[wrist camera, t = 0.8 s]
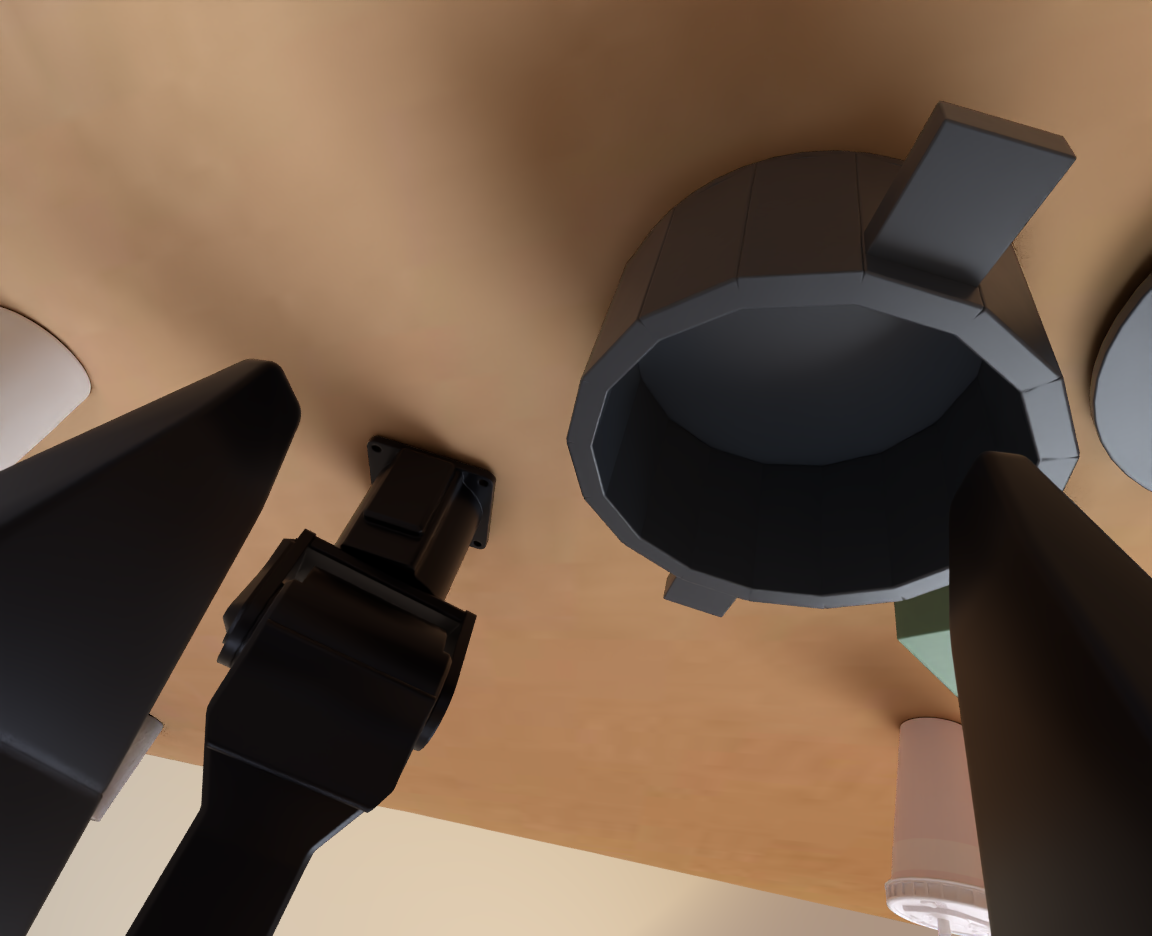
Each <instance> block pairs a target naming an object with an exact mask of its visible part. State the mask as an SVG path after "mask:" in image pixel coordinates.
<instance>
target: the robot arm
mask: <svg viewBox="0 0 1152 936" xmlns="http://www.w3.org/2000/svg"><path fill="white" fill-rule="evenodd" d="M300 418H301V408H300V404H299V402H298V400H297V398H296V396H295V394H294V392H293V390H292V388H291V386H290V384H289V382H288V379H287V377H286V375H285V373H284V371H283V370H282V368H281V367H280V366H279V365H278V364H277V363H275V362H272V361H266V360H258V359H246V360H243V361H241V362H238V363H236V364H234V365H232V366H230V367H227V368H225V369H223V370H221V371H219V372H216V373H214V374H212V375H210V376H208V377H206V378H203V379H201V380H199V381H197V382H195V383H192V384H190V385H188V386H186V387H184V388H181V389H179V390H177V391H175V392H173V393H170V394H168V395H166V396H164V397H162V398H159V399H157V400H155V401H153V402H151V403H148V404H146V405H144V406H142V407H140V408H137V409H135V410H133V411H131V412H129V413H126V414H124V415H122V416H120V417H118V418H116V419H113V420H111V421H109V422H107V423H105V424H102V425H100V426H98V427H96V428H94V429H91V430H89V431H87V432H85V433H83V434H80V435H78V436H76V437H74V438H72V439H69V440H67V441H65V442H63V443H61V444H58V445H56V446H54V447H52V448H50V449H47V450H45V451H43V452H41V453H39V454H37V455H34V456H32V457H30V458H28V459H26V460H23V461H21V462H19V463H17V464H15V465H12V466H10V467H8V468H6V469H4V470H1V471H0V936H26V934H27V933H28V931H29V929H30V927H31V925H32V923H33V922H34V920H35V918H36V916H37V915H38V913H39V911H40V909H41V907H42V906H43V904H44V902H45V900H46V898H47V897H48V895H49V893H50V891H51V889H52V888H53V886H54V884H55V882H56V880H57V879H58V877H59V875H60V873H61V871H62V870H63V868H64V866H65V864H66V863H67V861H68V859H69V857H70V855H71V854H72V852H73V850H74V848H75V846H76V844H77V843H78V841H79V839H80V837H81V836H82V834H83V832H84V830H85V828H86V827H87V825H88V823H89V821H90V819H91V818H92V816H93V814H94V812H95V810H96V809H97V807H98V805H99V803H100V801H101V800H102V798H103V794H102V793H104V792H105V791H106V790H107V788H108V786H109V784H110V782H111V781H112V779H113V777H114V775H115V773H116V772H117V770H118V768H119V766H120V765H121V763H122V761H123V759H124V757H125V756H126V754H127V752H128V750H129V748H130V747H131V745H132V743H133V741H134V739H135V738H136V736H137V734H138V732H139V730H140V729H141V727H142V725H143V723H144V721H145V720H146V718H147V716H148V714H149V712H150V711H151V709H152V707H153V705H154V703H155V702H156V700H157V698H158V696H159V695H160V693H161V691H162V689H163V687H164V686H165V684H166V682H167V680H168V678H169V677H170V675H171V673H172V671H173V669H174V668H175V666H176V664H177V662H178V660H179V659H180V657H181V655H182V653H183V651H184V650H185V648H186V646H187V644H188V642H189V641H190V639H191V637H192V635H193V634H194V632H195V630H196V628H197V626H198V625H199V623H200V621H201V619H202V617H203V616H204V614H205V612H206V610H207V608H208V607H209V605H210V603H211V601H212V599H213V598H214V596H215V594H216V592H217V590H218V589H219V587H220V585H221V583H222V581H223V580H224V578H225V576H226V574H227V572H228V571H229V569H230V567H231V565H232V564H233V562H234V560H235V558H236V556H237V555H238V553H239V551H240V549H241V547H242V546H243V544H244V542H245V540H246V538H247V537H248V535H249V533H250V531H251V529H252V528H253V526H254V524H255V522H256V520H257V518H258V516H259V515H260V513H261V511H262V509H263V507H264V504H265V502H266V500H267V498H268V496H269V493H270V491H271V489H272V486H273V484H274V482H275V479H276V477H277V475H278V472H279V470H280V467H281V465H282V463H283V460H284V458H285V456H286V453H287V451H288V449H289V446H290V444H291V442H292V439H293V437H294V435H295V432H296V430H297V427H298V425H299V422H300ZM367 449H368V458H369V466H370V475H371V483H372V486H371V487H370V489H369V491H368V492H367V494H366V495H365V497H364V499H363V500H362V502H361V503H360V505H359V507H358V508H357V510H356V511H355V513H354V515H353V516H352V518H351V519H350V521H349V523H348V524H347V526H346V527H345V529H344V531H343V532H342V534H341V535H340V537H339V539H338V540H337V542H336V543H335V545H332V544H330V543H328V542H327V541H325V540H323V539H321V538H319V537H317V536H316V534H315V533H313V532H311V531H309V530H307V529H304V531H303V532H302V533H301V535H300V536H299V537H298V539H297V538H296V539H283V540H282V542H281V543H280V545H279V546H278V548H277V549H276V550H275V552H274V553H273V555H272V556H271V558H270V559H269V560H268V562H267V563H266V565H265V566H264V567H263V568H262V570H261V571H260V572H259V573H258V574H257V576H256V577H255V578H254V579H253V580H252V581H251V582H250V583H249V585H248V586H247V587H246V588H245V589H244V590H243V591H242V592H241V593H240V595H239V596H238V597H237V598H236V599H235V600H234V601H233V602H232V604H231V605H230V606H229V607H228V609H227V610H226V612H225V614H224V615H223V620H224V624H225V628H226V632H227V633H226V635H225V637H224V640H223V643H224V646H223V648H222V650H221V652H220V654H219V656H218V659H217V662H218V663H220V664H222V665H225V666H227V667H229V668H231V669H230V670H229V672H228V674H227V675H226V677H225V678H224V680H223V682H222V683H221V685H220V686H219V688H218V690H217V691H216V693H215V694H214V696H213V697H212V699H211V701H210V703H209V705H208V707H207V712H206V725H205V744H204V764H203V783H202V784H203V785H202V803H201V808H200V811H199V812H198V814H197V816H196V817H195V819H194V821H193V822H192V824H191V826H190V827H189V829H188V831H187V833H186V834H185V836H184V838H183V839H182V841H181V843H180V844H179V846H178V848H177V849H176V851H175V853H174V855H173V856H172V858H171V860H170V861H169V863H168V865H167V866H166V868H165V870H164V871H163V873H162V875H161V876H160V878H159V880H158V881H157V883H156V885H155V887H154V888H153V890H152V892H151V893H150V895H149V897H148V898H147V900H146V902H145V903H144V905H143V907H142V908H141V910H140V912H139V913H138V915H137V917H136V918H135V920H134V922H133V924H132V925H131V927H130V929H129V930H128V932H127V934H126V936H273V934H274V932H275V929H276V927H277V925H278V923H279V921H280V919H281V917H282V915H283V913H284V911H285V909H286V907H287V905H288V903H289V901H290V899H291V896H292V895H293V892H294V891H295V889H296V886H297V884H298V882H299V880H300V878H301V876H302V874H303V872H304V870H305V868H306V866H307V864H308V862H309V860H310V858H311V857H312V855H313V853H314V852H315V851H316V850H317V849H318V848H319V847H320V846H322V845H323V844H324V843H325V842H327V841H328V840H329V839H330V838H332V837H333V836H334V835H335V834H337V833H338V832H339V831H340V830H342V829H343V828H344V827H346V826H347V825H348V824H349V823H351V822H352V821H353V820H354V819H355V818H357V817H358V816H359V815H361V814H362V813H363V812H367V813H368V812H370V811H371V810H373V809H374V808H375V807H376V806H377V805H379V804H380V803H381V802H382V801H383V800H384V799H385V798H386V797H387V796H388V795H389V794H390V793H392V791H393V790H394V788H395V786H396V784H397V782H398V779H399V777H400V775H401V773H402V771H403V769H404V767H405V765H406V763H407V761H408V759H409V757H410V755H411V752H412V750H413V749H414V750H417V751H420V750H421V749H422V748H424V747H425V745H426V744H427V743H428V742H429V740H430V739H431V737H432V736H433V734H434V733H435V731H436V729H437V728H438V726H439V724H440V722H441V720H442V719H443V717H444V715H445V713H446V710H447V708H448V706H449V704H450V701H451V699H452V696H453V694H454V691H455V688H456V685H457V682H458V678H459V675H460V671H461V668H462V665H463V661H464V658H465V654H466V651H467V647H468V644H469V641H470V637H471V634H472V630H473V627H474V623H475V620H476V616H477V615H475V614H473V613H471V612H469V611H467V610H466V611H463V610H461V609H459V608H457V607H455V606H453V605H451V604H449V603H447V602H445V598H446V596H447V594H448V592H449V589H450V587H451V585H452V583H453V581H454V578H455V576H456V574H457V572H458V570H459V567H460V565H461V563H462V561H463V559H464V556H465V554H466V552H467V550H468V547H469V546H471V547H474V548H477V549H484V548H485V547H486V545H487V542H488V538H489V531H490V523H491V515H492V507H493V499H494V491H495V483H496V478H495V476H494V475H493V474H492V473H491V472H489V471H486V470H483V469H480V468H477V467H474V466H471V465H468V464H464V463H461V462H458V461H455V460H452V459H449V458H446V457H443V456H439V455H436V454H433V453H430V452H427V451H424V450H421V449H418V448H415V447H411V446H408V445H405V444H402V443H399V442H396V441H393V440H390V439H387V438H383V437H380V436H373V437H371V439H370V440H369V442H368V443H367ZM949 624H950V640H951V649H952V658H953V665H954V672H955V679H956V686H957V694H958V701H959V708H960V715H961V722H962V730H963V737H964V744H965V751H966V758H967V766H968V773H969V780H970V787H971V794H972V802H973V809H974V816H975V823H976V830H977V838H978V845H979V852H980V859H981V866H982V874H983V881H984V888H985V895H986V902H987V910H988V917H989V924H990V931H991V936H1152V578H1151V577H1150V576H1149V575H1148V574H1147V573H1146V572H1145V571H1144V570H1143V569H1142V568H1141V567H1140V566H1139V565H1138V564H1137V563H1136V562H1135V561H1133V560H1132V559H1131V558H1130V557H1129V556H1128V555H1127V554H1126V553H1125V552H1124V551H1123V550H1122V549H1121V548H1120V547H1119V546H1118V545H1117V544H1116V543H1115V542H1114V541H1113V540H1112V539H1111V538H1110V537H1109V536H1108V535H1107V534H1106V533H1105V532H1104V531H1103V530H1102V529H1101V528H1100V527H1099V526H1098V525H1096V524H1095V523H1094V522H1093V521H1092V520H1091V519H1090V518H1089V517H1088V516H1087V515H1086V514H1085V513H1084V512H1083V511H1082V510H1081V509H1080V508H1079V507H1078V506H1077V505H1076V504H1075V503H1074V502H1073V501H1072V500H1071V499H1070V498H1069V497H1068V496H1067V495H1066V494H1065V493H1064V492H1063V491H1062V490H1061V489H1059V488H1058V487H1057V486H1056V485H1055V484H1054V483H1053V482H1052V481H1051V480H1050V479H1049V478H1048V477H1047V476H1046V475H1045V474H1044V473H1043V472H1042V471H1041V470H1040V469H1039V468H1038V467H1037V466H1036V465H1035V464H1034V463H1033V462H1032V461H1031V460H1029V459H1028V458H1027V457H1025V456H1023V455H1019V454H1012V453H1004V452H996V451H985V452H982V453H981V454H979V455H978V456H977V458H976V459H975V460H974V462H973V464H972V466H971V467H970V469H969V471H968V473H967V474H966V476H965V478H964V480H963V481H962V483H961V485H960V487H959V488H958V490H957V492H956V494H955V495H954V497H953V500H952V502H951V506H950V511H949Z"/></svg>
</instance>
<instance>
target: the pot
mask: <svg viewBox="0 0 1152 936" xmlns="http://www.w3.org/2000/svg"><path fill="white" fill-rule="evenodd" d="M1075 160H1076V156H1075V154H1074V152H1073V151H1072V149H1071V148H1070V146H1069V145H1068V143H1067V141H1066V140H1065V138H1064V137H1063V136H1060V135H1057V134H1053V133H1050V132H1047V131H1043V130H1040V129H1036V128H1033V127H1029V126H1026V125H1023V124H1019V123H1016V122H1012V121H1009V120H1006V119H1002V118H999V117H995V116H992V115H988V114H985V113H982V112H978V111H975V110H971V109H968V108H965V107H961V106H958V105H954V104H951V103H947V102H944V101H939V102H938V103H937V105H936V106H935V108H934V110H933V112H932V113H931V115H930V117H929V119H928V121H927V122H926V124H925V126H924V128H923V129H922V131H921V133H920V135H919V136H918V138H917V140H916V142H915V143H914V145H913V147H912V149H911V150H910V152H909V154H908V156H907V157H906V159H905V161H902V160H898V159H894V158H889V157H885V156H880V155H876V154H871V153H862V152H850V151H838V150H837V151H816V152H802V153H796V154H791V155H785V156H779V157H774V158H770V159H767V160H764V161H760V162H757V163H754V164H751V165H747V166H744V167H742V168H739V169H737V170H735V171H733V172H730V173H728V174H726V175H724V176H721V177H719V178H717V179H715V180H713V181H712V182H710V183H708V184H707V185H705V186H703V187H702V188H700V189H698V190H697V191H695V192H694V193H692V194H690V195H689V196H688V197H687V198H685V199H684V200H683V201H682V202H680V203H679V204H678V205H677V206H675V207H674V208H673V209H672V210H670V211H669V212H668V213H667V214H666V215H665V216H664V217H663V219H662V220H661V221H660V222H659V223H658V224H657V225H656V226H655V227H654V228H653V229H652V230H651V232H650V233H649V234H648V236H647V237H646V238H645V240H644V241H643V243H642V244H641V245H640V247H639V248H638V250H637V251H636V253H635V254H634V255H633V256H632V258H631V259H630V260H629V261H628V262H627V265H626V266H625V268H624V271H623V274H622V276H621V279H620V281H619V284H618V286H617V289H616V291H615V294H614V296H613V299H612V301H611V304H610V307H609V309H608V312H607V314H606V317H605V319H604V322H603V324H602V327H601V329H600V332H599V334H598V337H597V339H596V342H595V345H594V347H593V350H592V352H591V355H590V357H589V360H588V362H587V365H586V367H585V370H584V372H583V375H582V377H581V380H580V384H579V389H578V393H577V397H576V401H575V405H574V409H573V413H572V417H571V421H570V426H569V430H568V434H567V438H566V439H567V445H568V448H569V451H570V455H571V458H572V462H573V465H574V468H575V472H576V475H577V478H578V482H579V485H580V488H581V492H582V495H583V497H584V499H585V500H586V501H587V503H588V504H589V505H590V506H591V507H592V508H593V510H594V511H595V512H596V513H597V514H598V515H599V517H600V518H601V519H602V520H603V521H604V522H605V524H606V525H607V526H608V527H609V528H610V529H611V530H612V532H613V533H614V534H615V535H616V536H617V537H618V539H619V540H620V541H621V542H622V543H624V544H625V545H626V546H628V547H629V548H631V549H633V550H634V551H636V552H637V553H639V554H641V555H642V556H644V557H646V558H647V559H649V560H650V561H652V562H654V563H655V564H657V565H658V566H660V567H662V568H663V569H665V570H667V571H668V572H670V574H669V576H668V578H667V581H666V586H665V592H664V599H666V600H669V601H672V602H675V603H678V604H681V605H684V606H688V607H691V608H694V609H697V610H700V611H703V612H706V613H709V614H712V615H715V616H718V617H722V616H723V615H724V614H725V612H726V611H727V610H728V609H729V607H730V606H731V605H732V603H733V602H734V601H735V600H736V598H741V599H744V600H749V601H753V602H762V603H772V604H781V605H791V606H800V607H810V608H819V609H824V608H826V609H828V608H838V607H848V606H858V605H867V604H877V603H887V602H897V601H903V600H908V599H911V598H914V597H917V596H920V595H922V594H925V593H928V592H931V591H934V590H937V589H940V588H942V587H945V586H948V585H949V511H950V506H951V502H952V500H953V497H954V495H955V494H956V492H957V490H958V488H959V487H960V485H961V483H962V481H963V480H964V478H965V476H966V474H967V473H968V471H969V469H970V467H971V466H972V464H973V462H974V460H975V459H976V458H977V456H978V455H979V454H981V453H982V452H985V451H996V452H1004V453H1012V454H1019V455H1023V456H1025V457H1027V458H1028V459H1029V460H1031V461H1032V462H1033V463H1034V464H1035V465H1036V466H1037V467H1038V468H1039V469H1040V470H1041V471H1042V472H1043V473H1044V474H1045V475H1046V476H1047V477H1048V478H1049V479H1050V480H1051V481H1052V482H1053V483H1054V484H1055V485H1056V486H1057V487H1058V488H1059V489H1061V490H1062V491H1063V490H1064V488H1065V486H1066V484H1067V482H1068V480H1069V478H1070V476H1071V474H1072V472H1073V470H1074V467H1075V465H1076V463H1077V461H1078V459H1079V454H1080V452H1079V448H1078V443H1077V438H1076V434H1075V429H1074V425H1073V420H1072V415H1071V411H1070V406H1069V402H1068V397H1067V393H1066V388H1065V383H1064V379H1063V376H1062V373H1061V371H1060V368H1059V365H1058V363H1057V360H1056V358H1055V355H1054V352H1053V350H1052V347H1051V345H1050V342H1049V339H1048V337H1047V334H1046V332H1045V329H1044V326H1043V324H1042V321H1041V319H1040V316H1039V313H1038V311H1037V308H1036V306H1035V303H1034V300H1033V298H1032V295H1031V293H1030V290H1029V287H1028V285H1027V282H1026V280H1025V277H1024V274H1023V272H1022V269H1021V267H1020V264H1019V261H1018V259H1017V256H1016V254H1015V251H1014V248H1013V246H1012V242H1013V240H1014V239H1015V238H1016V236H1017V235H1018V234H1019V233H1020V231H1021V230H1022V229H1023V227H1024V226H1025V225H1026V224H1027V222H1028V221H1029V220H1030V218H1031V217H1032V216H1033V215H1034V213H1035V212H1036V211H1037V209H1038V208H1039V207H1040V205H1041V204H1042V203H1043V202H1044V200H1045V199H1046V198H1047V196H1048V195H1049V194H1050V193H1051V191H1052V190H1053V189H1054V187H1055V186H1056V185H1057V183H1058V182H1059V181H1060V180H1061V178H1062V177H1063V176H1064V174H1065V173H1066V172H1067V171H1068V169H1069V168H1070V167H1071V165H1072V164H1073V163H1074V162H1075Z"/></svg>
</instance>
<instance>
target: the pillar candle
mask: <svg viewBox="0 0 1152 936" xmlns="http://www.w3.org/2000/svg"><path fill="white" fill-rule="evenodd" d="M162 728H163V725H162V723H161V722H159V721H158V720H157V719H155V718H154V717H151V716H149V715H148V716H147V718H146V720H145V721H144V723H143V725H142V727H141V729H140V730H139V732H138V734H137V736H136V738H135V739H134V741H133V743H132V745H131V747H130V748H129V750H128V752H127V754H126V756H125V757H124V759H123V761H122V763H121V765H120V766H119V768H118V770H117V772H116V773H115V775H114V777H113V779H112V781H111V782H110V784H109V786H108V788H107V790H106V791H105V792H104V793H102V794H103V798H102V800H101V801H100V803H99V805H98V807H97V809H96V810H95V812H94V814H93V816H92V818H91V819H90V820H93V821H100V820H101V818H102V817H103V815H104V814H105V812H106V811H107V809H108V808H109V806H110V805H111V803H112V802H113V800H114V799H115V798H116V796H117V795H118V793H119V792H120V790H121V789H122V787H123V786H124V784H125V783H126V782H127V780H128V779H129V777H130V776H131V774H132V773H133V771H134V770H135V768H136V767H137V765H138V764H139V762H140V761H141V759H142V758H143V756H144V755H145V754H146V752H147V751H148V749H149V748H150V746H151V745H152V743H153V742H154V740H155V739H156V737H157V736H158V734H159V733H160V732H161V730H162Z"/></svg>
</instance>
